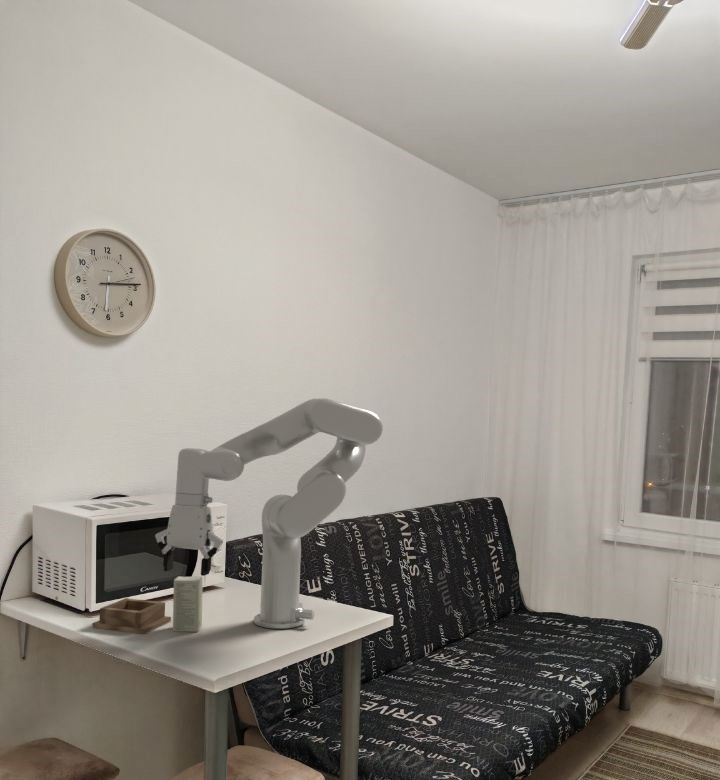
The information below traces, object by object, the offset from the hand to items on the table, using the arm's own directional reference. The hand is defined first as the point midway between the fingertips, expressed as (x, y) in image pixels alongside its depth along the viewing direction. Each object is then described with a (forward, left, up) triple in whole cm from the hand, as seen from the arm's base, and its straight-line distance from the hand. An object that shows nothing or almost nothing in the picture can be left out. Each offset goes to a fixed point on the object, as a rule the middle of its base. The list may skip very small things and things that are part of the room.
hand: (186, 572), depth 184 cm
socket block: (+13, +1, -14) cm, 19 cm away
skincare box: (-1, 0, -14) cm, 14 cm away
